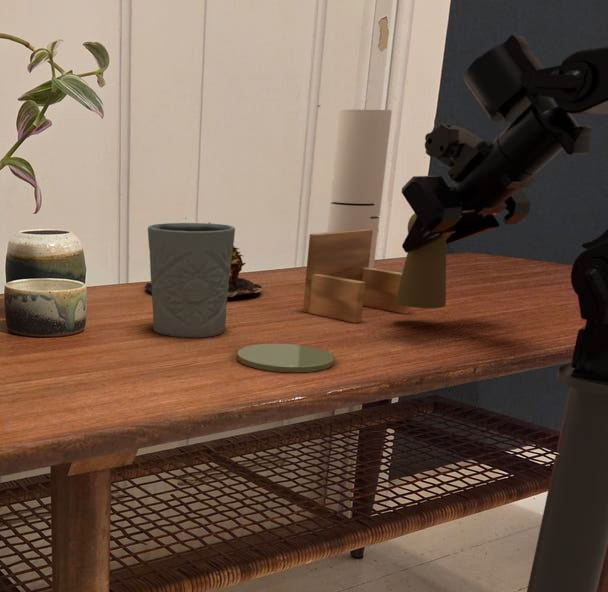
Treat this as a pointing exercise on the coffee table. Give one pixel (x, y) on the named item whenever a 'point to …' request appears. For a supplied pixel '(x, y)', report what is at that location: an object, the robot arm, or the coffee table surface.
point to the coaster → (285, 358)
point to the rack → (347, 277)
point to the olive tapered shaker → (424, 275)
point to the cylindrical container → (359, 172)
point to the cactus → (234, 278)
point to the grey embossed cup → (190, 277)
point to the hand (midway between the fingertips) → (417, 247)
